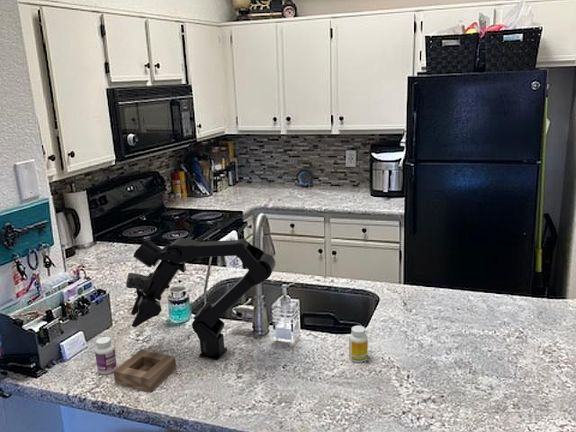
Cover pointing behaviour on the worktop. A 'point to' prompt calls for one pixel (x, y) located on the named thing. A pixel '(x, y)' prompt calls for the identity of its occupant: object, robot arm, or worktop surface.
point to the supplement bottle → (358, 344)
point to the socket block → (145, 370)
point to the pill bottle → (105, 356)
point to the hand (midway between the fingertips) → (132, 320)
